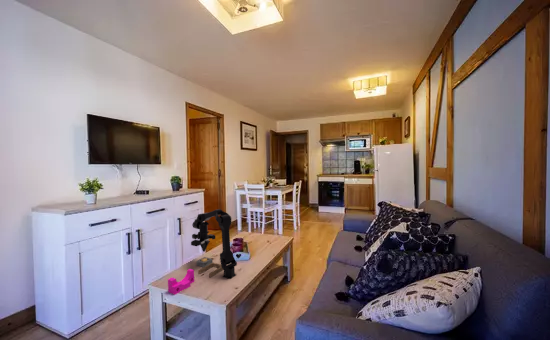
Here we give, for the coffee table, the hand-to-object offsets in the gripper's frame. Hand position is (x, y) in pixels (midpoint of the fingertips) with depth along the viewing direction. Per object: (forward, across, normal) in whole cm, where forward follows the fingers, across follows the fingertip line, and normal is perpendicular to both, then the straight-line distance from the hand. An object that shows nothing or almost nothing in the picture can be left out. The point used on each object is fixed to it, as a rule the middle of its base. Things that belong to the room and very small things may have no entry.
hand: (204, 251), depth 164 cm
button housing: (+9, 0, 0) cm, 9 cm away
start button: (+9, 0, 0) cm, 9 cm away
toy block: (+10, +28, +12) cm, 32 cm away
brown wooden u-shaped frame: (+9, +9, +13) cm, 19 cm away
